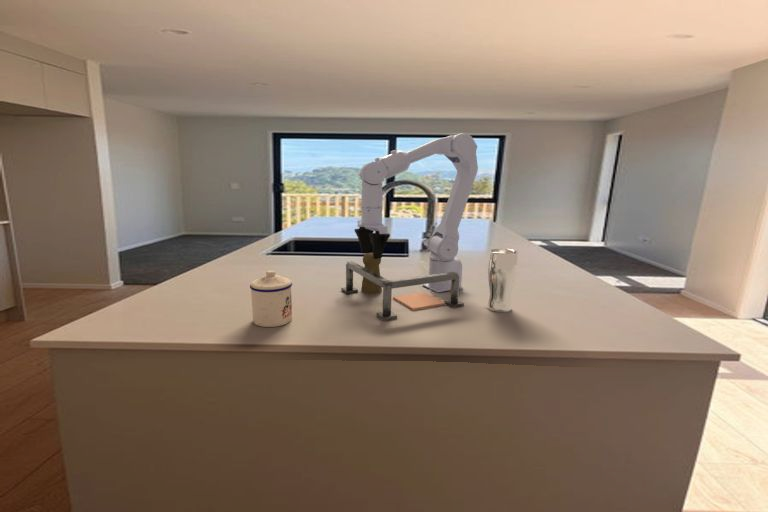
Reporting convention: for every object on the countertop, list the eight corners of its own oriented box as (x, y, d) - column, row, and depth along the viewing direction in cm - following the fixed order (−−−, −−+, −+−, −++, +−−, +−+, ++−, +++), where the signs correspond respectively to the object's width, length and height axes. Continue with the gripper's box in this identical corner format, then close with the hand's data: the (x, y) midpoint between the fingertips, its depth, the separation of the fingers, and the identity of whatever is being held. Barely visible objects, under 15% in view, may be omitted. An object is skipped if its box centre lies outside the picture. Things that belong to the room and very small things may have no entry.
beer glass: (498, 314, 96) (503, 255, 93) (479, 305, 102) (483, 249, 99) (519, 310, 99) (524, 252, 96) (499, 302, 105) (504, 247, 102)
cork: (379, 294, 110) (380, 256, 107) (358, 293, 111) (358, 255, 108) (383, 288, 115) (384, 251, 113) (363, 286, 117) (364, 250, 114)
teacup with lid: (291, 327, 86) (290, 276, 84) (248, 329, 85) (245, 277, 82) (295, 308, 98) (293, 263, 95) (257, 309, 96) (254, 263, 94)
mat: (423, 294, 111) (423, 291, 111) (445, 304, 103) (445, 302, 102) (393, 298, 106) (393, 296, 106) (412, 310, 98) (413, 308, 98)
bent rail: (410, 280, 124) (411, 253, 122) (463, 306, 102) (465, 273, 100) (341, 290, 113) (341, 260, 111) (383, 321, 91) (384, 284, 89)
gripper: (347, 205, 112) (348, 251, 115) (370, 210, 100) (370, 262, 103) (370, 204, 115) (369, 249, 118) (394, 209, 103) (393, 259, 106)
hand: (371, 255), depth 111 cm, fingers open, 7 cm apart
